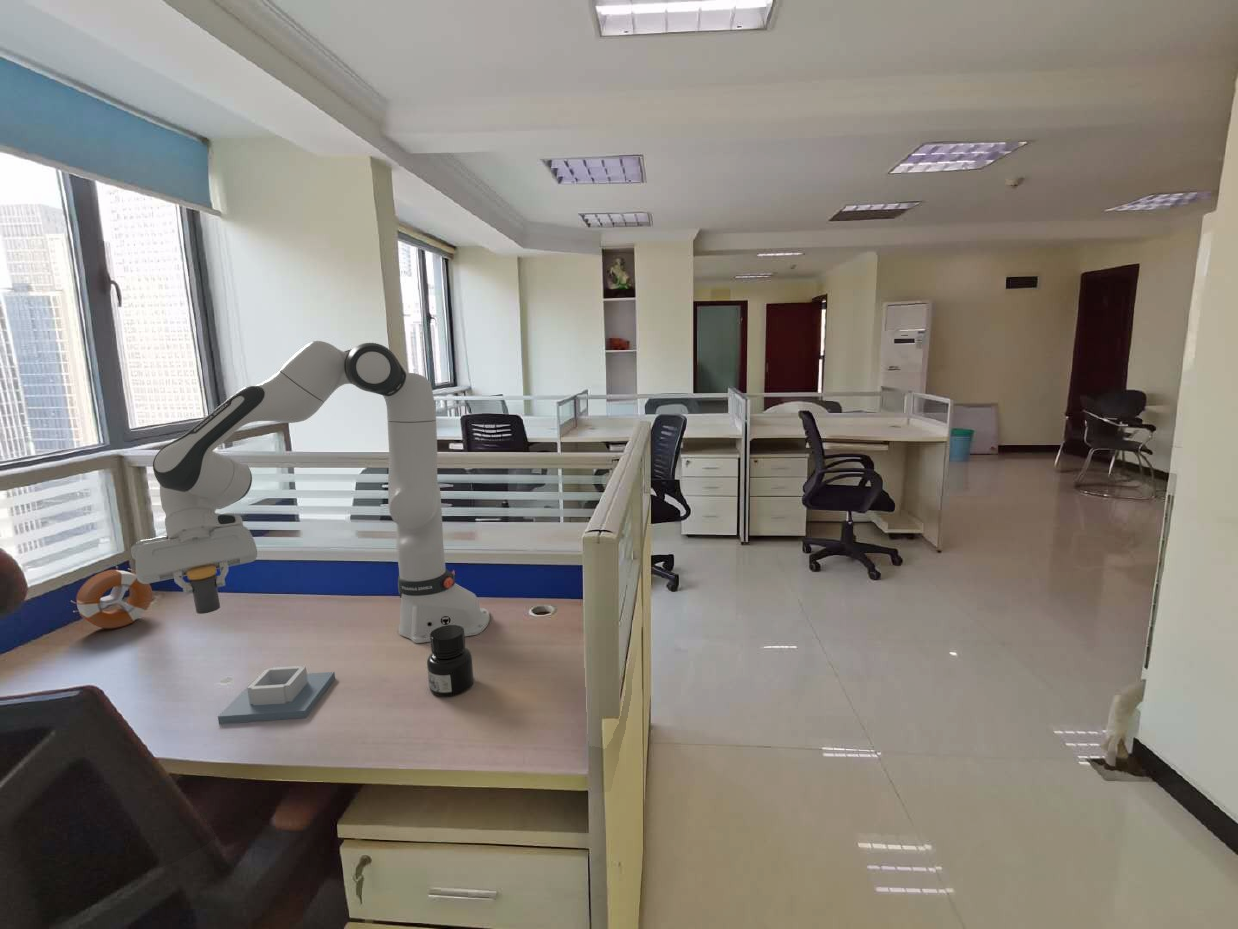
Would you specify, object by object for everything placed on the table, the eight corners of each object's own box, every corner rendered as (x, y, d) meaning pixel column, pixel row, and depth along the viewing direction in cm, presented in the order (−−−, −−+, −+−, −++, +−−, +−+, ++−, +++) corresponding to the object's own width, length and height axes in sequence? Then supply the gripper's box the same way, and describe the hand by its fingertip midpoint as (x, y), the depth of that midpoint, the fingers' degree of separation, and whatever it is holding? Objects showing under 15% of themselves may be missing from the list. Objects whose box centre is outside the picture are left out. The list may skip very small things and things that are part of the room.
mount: (335, 678, 126) (332, 656, 125) (305, 717, 112) (302, 694, 111) (258, 683, 125) (254, 661, 124) (218, 723, 111) (214, 699, 110)
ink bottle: (422, 683, 123) (417, 630, 121) (462, 669, 128) (458, 618, 126) (439, 704, 115) (434, 648, 113) (481, 688, 120) (477, 634, 118)
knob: (227, 603, 121) (221, 564, 119) (213, 613, 116) (206, 573, 114) (203, 605, 120) (196, 566, 119) (188, 615, 116) (180, 574, 114)
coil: (157, 616, 160) (148, 565, 157) (87, 639, 148) (75, 584, 145) (147, 611, 164) (137, 561, 161) (77, 633, 151) (65, 579, 149)
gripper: (127, 534, 114) (136, 596, 108) (249, 513, 126) (263, 568, 121) (131, 550, 118) (140, 611, 112) (249, 529, 131) (262, 582, 125)
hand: (205, 588), depth 117 cm, fingers closed on knob, 4 cm apart
